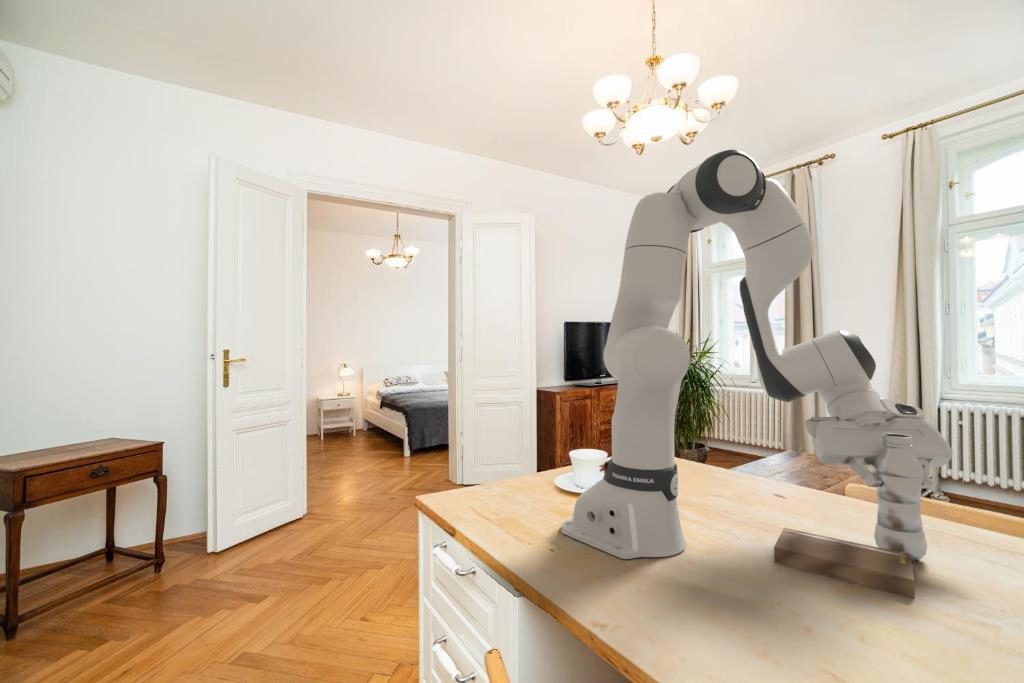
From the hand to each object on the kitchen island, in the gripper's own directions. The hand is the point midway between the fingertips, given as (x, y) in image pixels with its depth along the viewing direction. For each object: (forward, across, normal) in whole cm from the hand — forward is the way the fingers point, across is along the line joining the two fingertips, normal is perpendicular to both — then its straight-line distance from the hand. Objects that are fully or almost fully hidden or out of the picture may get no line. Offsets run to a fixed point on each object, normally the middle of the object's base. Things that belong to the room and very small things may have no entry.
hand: (901, 486), depth 74 cm
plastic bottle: (+8, 0, +9) cm, 12 cm away
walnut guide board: (+11, -12, +6) cm, 17 cm away
